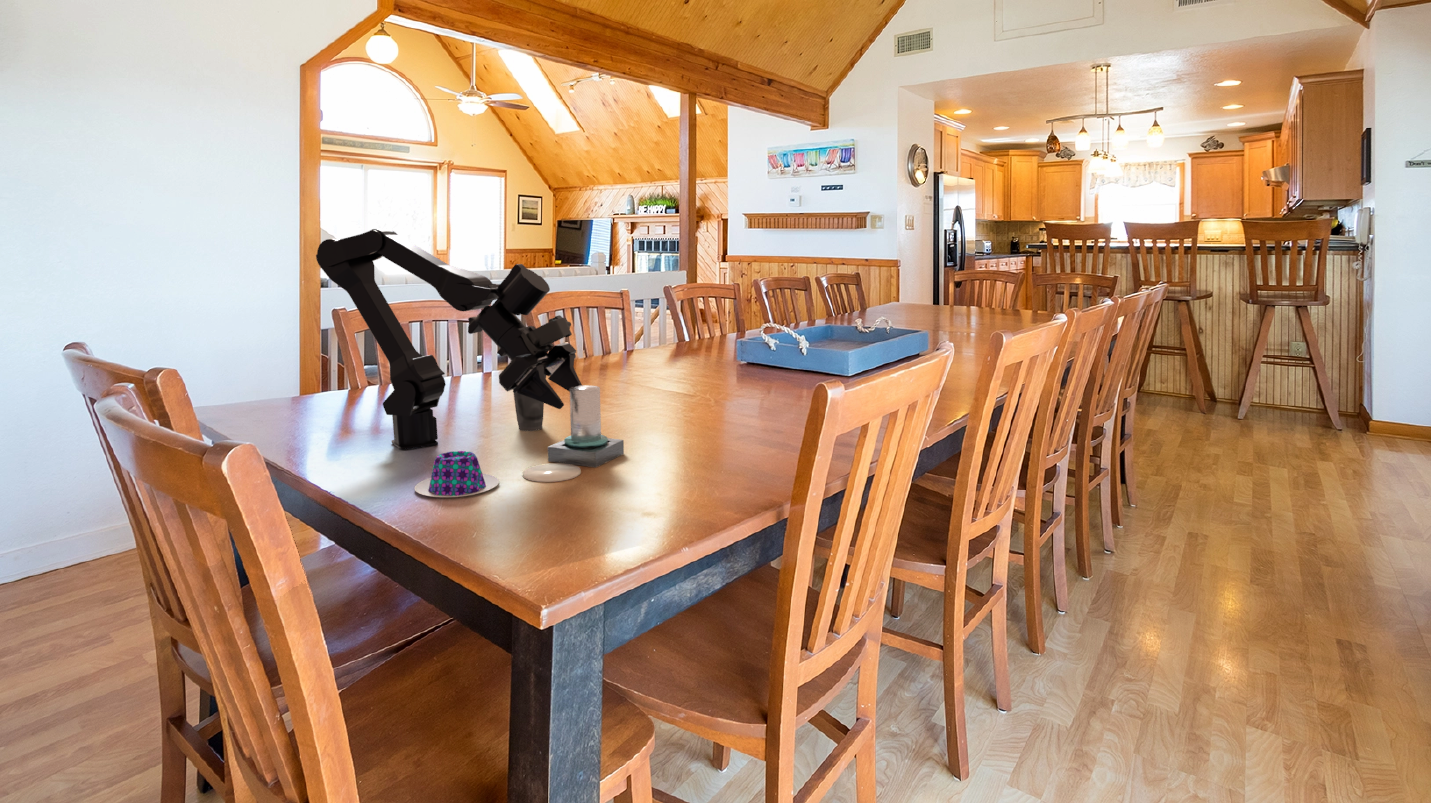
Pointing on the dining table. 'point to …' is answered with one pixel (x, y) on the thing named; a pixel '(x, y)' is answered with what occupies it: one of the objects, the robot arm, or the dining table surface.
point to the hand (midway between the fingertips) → (573, 401)
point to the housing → (586, 453)
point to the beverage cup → (528, 412)
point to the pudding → (456, 476)
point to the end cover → (585, 418)
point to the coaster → (551, 472)
